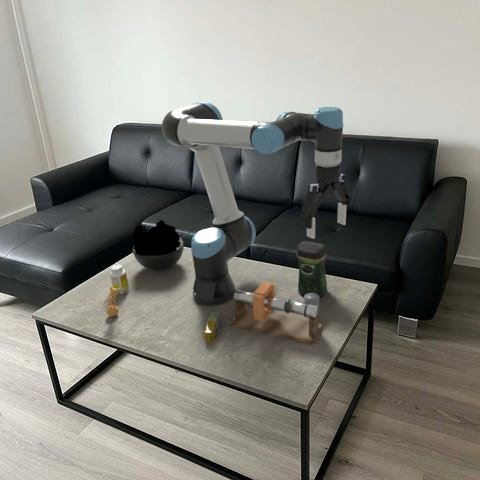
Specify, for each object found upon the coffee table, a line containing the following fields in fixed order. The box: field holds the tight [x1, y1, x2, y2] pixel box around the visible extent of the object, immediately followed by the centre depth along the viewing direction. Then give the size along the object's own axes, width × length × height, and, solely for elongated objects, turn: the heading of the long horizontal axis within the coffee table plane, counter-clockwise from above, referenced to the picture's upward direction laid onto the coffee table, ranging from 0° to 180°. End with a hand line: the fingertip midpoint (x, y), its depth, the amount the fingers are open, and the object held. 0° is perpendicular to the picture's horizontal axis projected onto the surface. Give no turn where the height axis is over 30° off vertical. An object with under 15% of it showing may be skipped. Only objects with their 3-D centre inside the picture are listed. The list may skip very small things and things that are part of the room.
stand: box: [230, 301, 323, 345], centre depth 149 cm, size 27×9×7 cm, turn 63°
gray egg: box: [303, 293, 320, 314], centre depth 154 cm, size 5×5×6 cm
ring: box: [252, 281, 276, 321], centre depth 148 cm, size 3×10×10 cm, turn 153°
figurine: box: [103, 286, 121, 318], centre depth 160 cm, size 8×6×12 cm
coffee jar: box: [296, 240, 328, 298], centre depth 163 cm, size 10×8×19 cm
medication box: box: [203, 309, 221, 343], centre depth 150 cm, size 12×3×4 cm, turn 173°
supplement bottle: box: [109, 263, 130, 295], centre depth 175 cm, size 6×6×10 cm
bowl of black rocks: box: [132, 219, 185, 272], centre depth 187 cm, size 20×20×19 cm
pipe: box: [233, 289, 318, 318], centre depth 147 cm, size 27×4×4 cm, turn 63°
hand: (326, 230), depth 147 cm, fingers open, 13 cm apart
